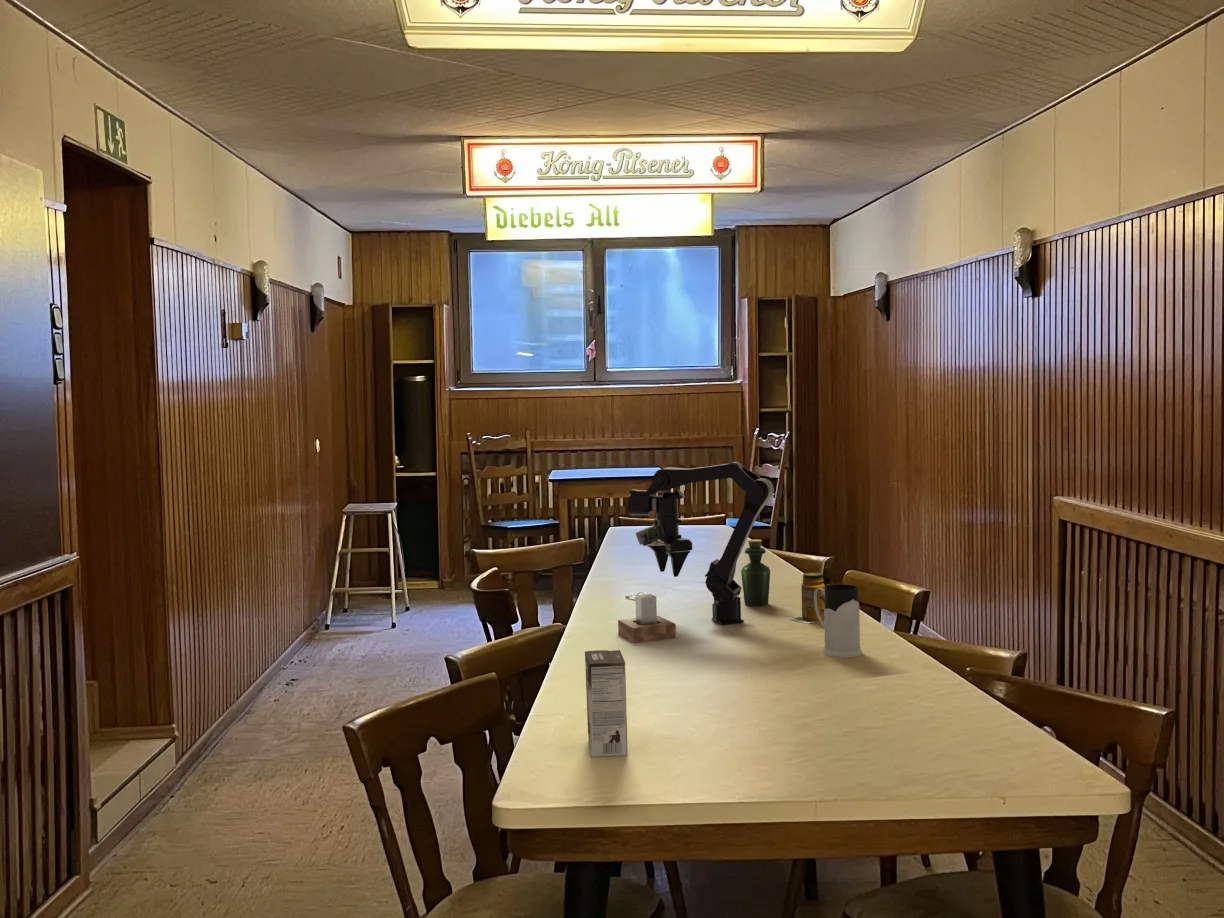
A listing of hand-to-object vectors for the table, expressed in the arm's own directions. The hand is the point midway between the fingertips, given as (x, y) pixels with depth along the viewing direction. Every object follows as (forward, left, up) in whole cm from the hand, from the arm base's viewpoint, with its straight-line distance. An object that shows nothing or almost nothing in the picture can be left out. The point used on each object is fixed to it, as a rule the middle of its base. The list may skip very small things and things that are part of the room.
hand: (668, 574), depth 300 cm
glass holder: (-20, +50, -12) cm, 55 cm away
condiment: (-32, +18, -12) cm, 39 cm away
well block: (+13, +16, -12) cm, 24 cm away
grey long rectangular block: (+13, +16, -12) cm, 24 cm away
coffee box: (+51, +94, -12) cm, 108 cm away
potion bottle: (-29, -7, -12) cm, 32 cm away
